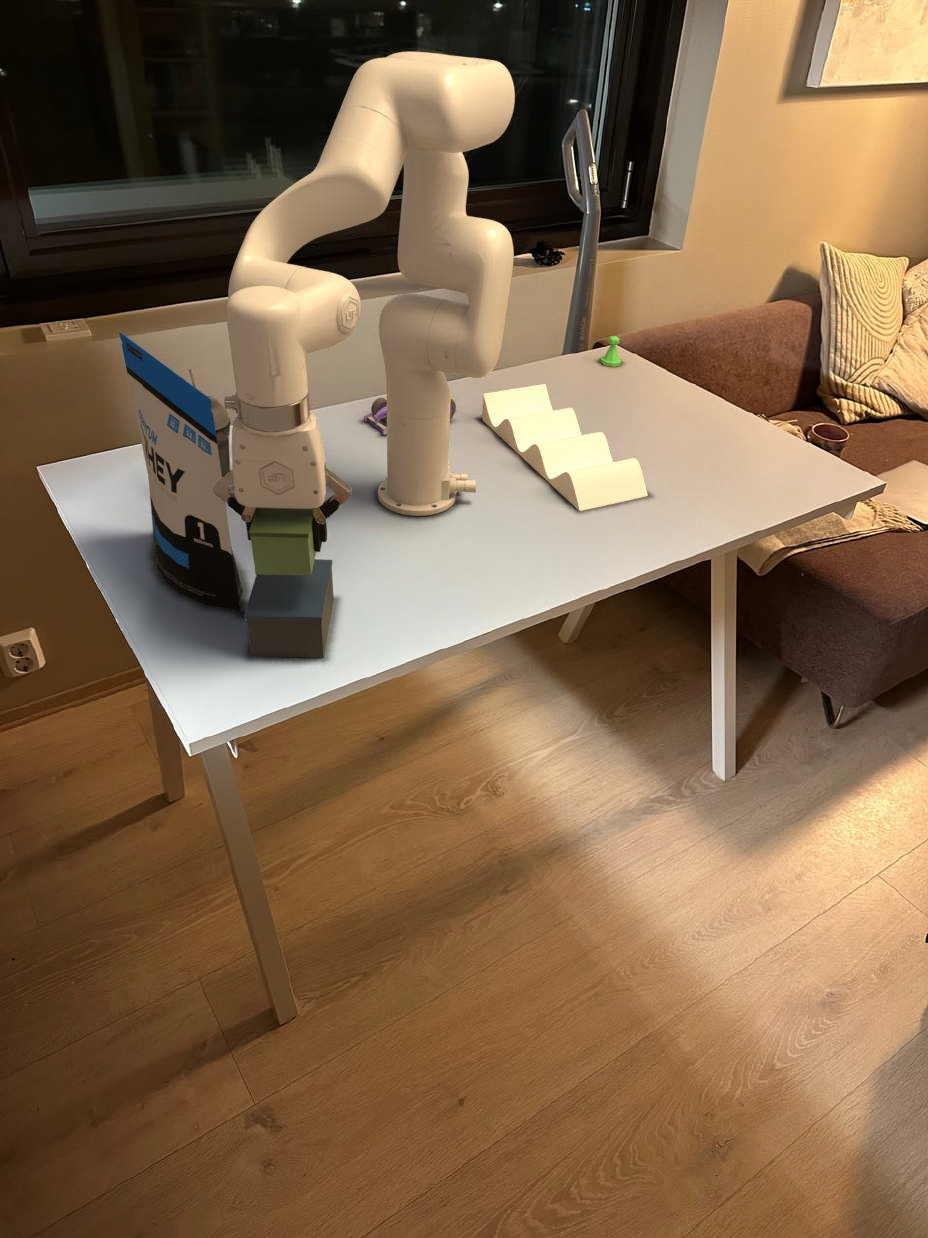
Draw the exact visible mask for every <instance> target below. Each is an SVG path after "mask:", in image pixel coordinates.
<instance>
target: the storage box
mask: <svg viewBox="0 0 928 1238" xmlns="http://www.w3.org/2000/svg"><path fill="white" fill-rule="evenodd" d="M334 599H335V598H334V581H333V559H321V558H320V559H319V558H317V559H316V558H315V560H314V564H313V569H312V574H311V576H306V575H262V574H256V573H255V578H254V581H253V585H252V588H251V591H250V594H249V598H248V602H247V605H246V609H245V612H244V616H243V617H244V620H245V622H246V630H247V636H248V637H247V638H248V644H249V650H250V651H249V652H250V656H251V657H282V658H319V659H321V658H325V653H326V648H327V647H326V646H327V641H328V637H329V630H330V624H331V617H332V611H333V605H334Z"/></svg>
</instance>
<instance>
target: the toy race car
mask: <svg viewBox="0 0 928 1238" xmlns="http://www.w3.org/2000/svg"><path fill="white" fill-rule="evenodd" d="M456 409H457V404H456V402H455V400H454V399H453V398H451V405H450V420H452V418H453V417H454V415H456V414H455V413H456ZM380 420H383V421H386V422H387V398H383V397H378V398H376V399H375V400H374V401H373V402H372V404H371V407H370V412H369V413H368V414H366V415H364V416H363V421H364V422H366V423H367V422H369V423H370V424H371V425H372V426H374V427H375V428H377V429H378V430H380V431H381V432H382V435H383V436H387V426H385V425H383V424H382V423H380Z"/></svg>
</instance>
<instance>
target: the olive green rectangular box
mask: <svg viewBox="0 0 928 1238" xmlns="http://www.w3.org/2000/svg"><path fill="white" fill-rule="evenodd" d="M313 519H314V517H313V515H312V514H311V512H310V510H309V509H278V508H256V511H255V514H254V518H253V521H252V524H251V527H250V530H249V536H250V537H251V540H250V544H251V551H252V558H253V565H254V572H255V575H256V574H262V575H306V576H311V574H312V569H313V564H314V560H315V559H316V553H317V552H316V551H314V542H313V531H312V523H313Z"/></svg>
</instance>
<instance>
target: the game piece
mask: <svg viewBox="0 0 928 1238" xmlns="http://www.w3.org/2000/svg"><path fill="white" fill-rule="evenodd" d="M619 343H620V338H619V337H618V336H616V335H611V336H609V338H608V344H609V347H608V349H607V351H606V353H605V354H604V355H603V356H602V357H601V358H600V363H601V364H602V365H603V366H606V367H611V368H614V367H619V366H620V365H621V363H622V359H620V358H619V353H618V350H617V345H619Z"/></svg>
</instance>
